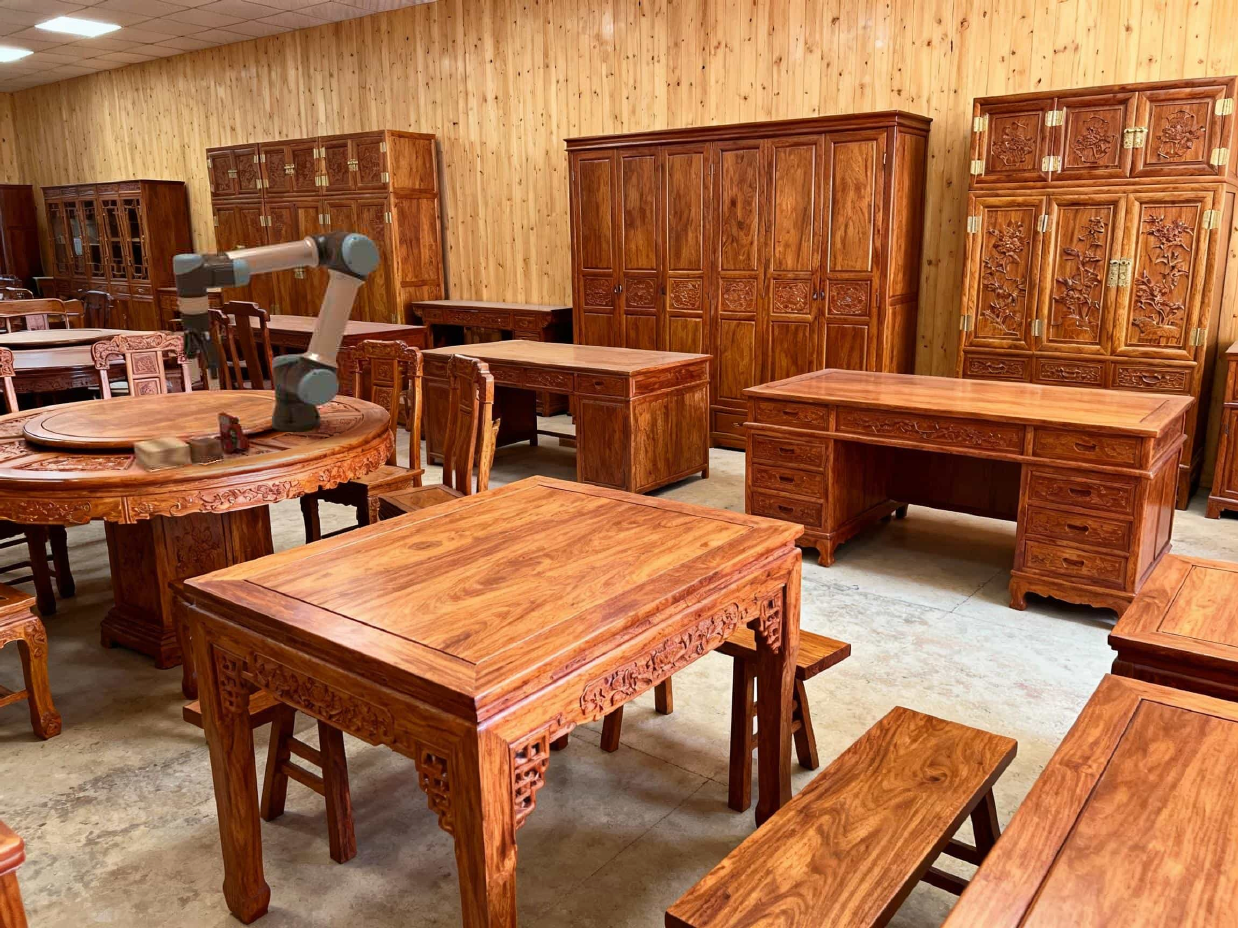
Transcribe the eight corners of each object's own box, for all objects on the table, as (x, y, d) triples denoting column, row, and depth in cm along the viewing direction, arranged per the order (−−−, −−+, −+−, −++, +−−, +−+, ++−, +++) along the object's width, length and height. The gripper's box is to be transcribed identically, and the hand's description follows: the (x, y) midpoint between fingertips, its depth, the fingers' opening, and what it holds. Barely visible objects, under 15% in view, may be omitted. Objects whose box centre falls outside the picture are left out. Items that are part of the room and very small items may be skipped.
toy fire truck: (231, 456, 267) (228, 422, 263) (211, 447, 274) (208, 413, 271) (254, 451, 271) (251, 418, 268) (234, 442, 279) (230, 409, 276)
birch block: (176, 455, 266) (174, 436, 264) (191, 465, 259) (189, 445, 257) (136, 463, 259) (133, 443, 257) (150, 473, 251) (147, 452, 249)
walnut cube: (209, 456, 266) (207, 436, 264) (222, 460, 263) (220, 440, 261) (190, 462, 261) (188, 441, 259) (204, 466, 258) (202, 445, 256)
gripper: (163, 306, 260) (174, 379, 268) (199, 319, 244) (209, 396, 251) (190, 303, 265) (200, 375, 273) (227, 316, 249) (236, 392, 256)
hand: (204, 385), depth 262 cm, fingers open, 13 cm apart
